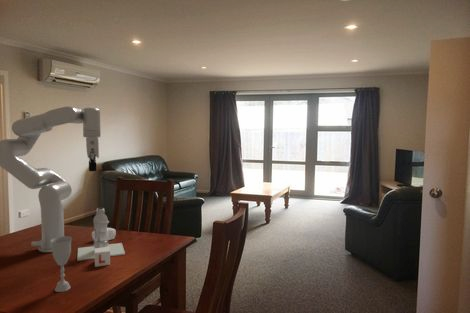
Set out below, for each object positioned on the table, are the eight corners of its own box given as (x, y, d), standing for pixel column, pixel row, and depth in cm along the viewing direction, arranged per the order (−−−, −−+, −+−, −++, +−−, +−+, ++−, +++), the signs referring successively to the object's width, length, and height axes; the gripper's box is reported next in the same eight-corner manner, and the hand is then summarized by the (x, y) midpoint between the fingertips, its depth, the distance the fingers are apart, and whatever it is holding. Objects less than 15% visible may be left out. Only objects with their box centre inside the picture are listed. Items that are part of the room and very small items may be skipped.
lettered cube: (95, 267, 139) (94, 253, 139) (94, 261, 145) (94, 248, 145) (110, 265, 142) (110, 251, 141) (109, 259, 147) (109, 246, 147)
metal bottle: (94, 253, 153) (93, 210, 151) (92, 249, 159) (92, 207, 157) (109, 251, 156) (108, 209, 155) (107, 247, 162) (106, 206, 160)
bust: (115, 242, 178) (113, 222, 184) (117, 236, 173) (115, 216, 178) (91, 245, 173) (90, 225, 178) (92, 239, 167) (90, 219, 173)
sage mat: (77, 260, 146) (77, 259, 146) (78, 249, 160) (78, 247, 160) (125, 254, 154) (125, 253, 154) (121, 244, 168) (121, 242, 168)
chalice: (57, 284, 123) (56, 236, 122) (76, 283, 123) (75, 236, 122) (48, 293, 116) (46, 242, 114) (68, 293, 116) (67, 242, 115)
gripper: (101, 134, 151) (101, 171, 152) (99, 134, 167) (100, 168, 168) (83, 134, 148) (83, 172, 149) (83, 134, 164) (84, 168, 165)
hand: (92, 170), depth 159 cm, fingers open, 9 cm apart
